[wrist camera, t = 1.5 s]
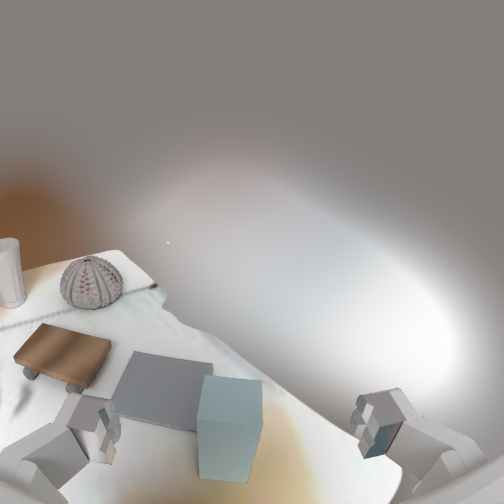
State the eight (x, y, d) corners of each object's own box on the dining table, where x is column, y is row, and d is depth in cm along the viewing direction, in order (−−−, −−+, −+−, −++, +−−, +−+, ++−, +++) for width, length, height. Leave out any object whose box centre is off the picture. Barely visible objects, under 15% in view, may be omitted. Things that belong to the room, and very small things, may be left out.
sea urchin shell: (105, 274, 63) (102, 241, 60) (136, 300, 55) (134, 262, 52) (53, 292, 52) (47, 256, 49) (77, 323, 45) (69, 283, 42)
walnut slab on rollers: (18, 374, 31) (11, 358, 30) (48, 336, 40) (44, 321, 39) (89, 401, 31) (83, 385, 30) (114, 354, 40) (111, 338, 39)
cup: (28, 287, 51) (18, 235, 47) (31, 305, 46) (19, 248, 42) (-3, 295, 46) (-15, 242, 42) (-3, 314, 41) (-18, 256, 37)
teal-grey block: (199, 478, 25) (196, 418, 20) (204, 442, 29) (204, 374, 25) (247, 482, 25) (262, 425, 20) (248, 447, 29) (262, 380, 25)
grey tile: (107, 412, 30) (106, 409, 30) (134, 354, 41) (134, 351, 41) (201, 432, 31) (201, 429, 30) (212, 366, 42) (213, 363, 41)
